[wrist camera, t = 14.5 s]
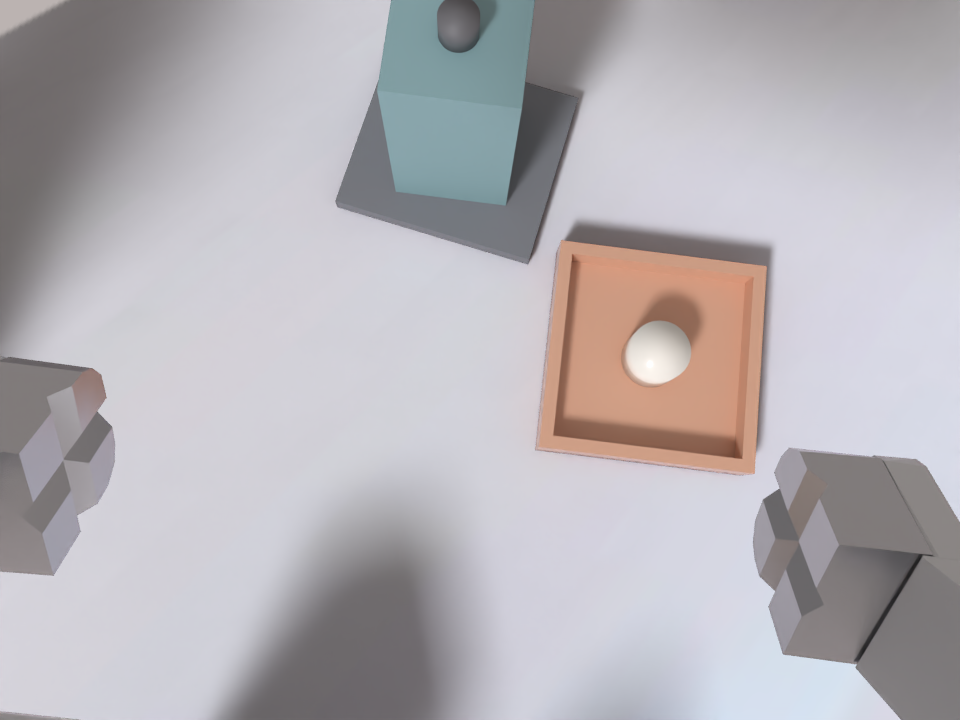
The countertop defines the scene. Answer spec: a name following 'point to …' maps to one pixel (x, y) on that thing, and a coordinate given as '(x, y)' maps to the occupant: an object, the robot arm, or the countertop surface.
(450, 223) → the mat
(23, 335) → the countertop surface
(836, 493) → the robot arm
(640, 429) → the dish
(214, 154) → the countertop surface
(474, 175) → the cover
